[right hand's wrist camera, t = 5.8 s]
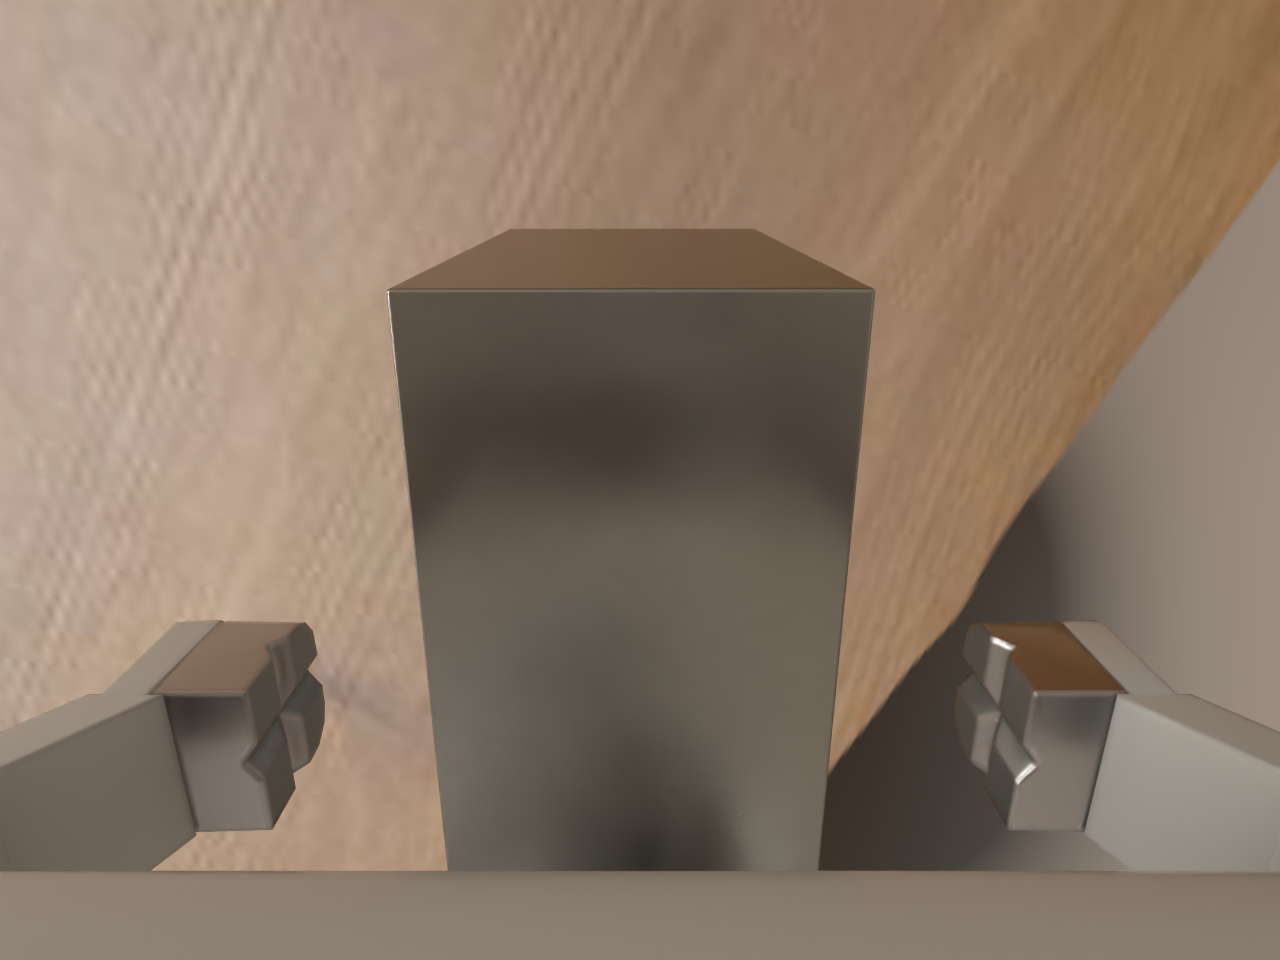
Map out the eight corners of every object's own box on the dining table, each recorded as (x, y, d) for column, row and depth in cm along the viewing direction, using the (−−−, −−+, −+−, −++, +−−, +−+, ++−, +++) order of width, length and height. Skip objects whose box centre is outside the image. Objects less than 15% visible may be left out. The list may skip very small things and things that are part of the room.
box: (508, 228, 22) (385, 288, 11) (755, 228, 22) (876, 288, 11) (546, 942, 31) (499, 1367, 20) (721, 942, 31) (770, 1364, 20)
